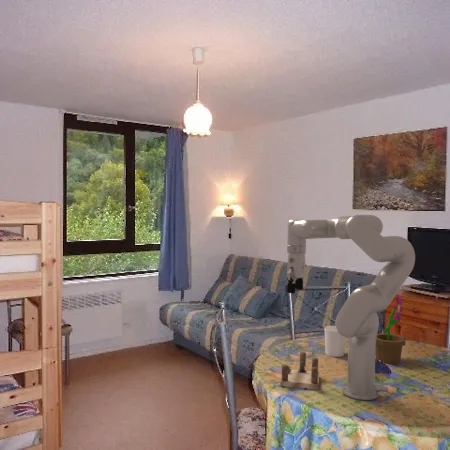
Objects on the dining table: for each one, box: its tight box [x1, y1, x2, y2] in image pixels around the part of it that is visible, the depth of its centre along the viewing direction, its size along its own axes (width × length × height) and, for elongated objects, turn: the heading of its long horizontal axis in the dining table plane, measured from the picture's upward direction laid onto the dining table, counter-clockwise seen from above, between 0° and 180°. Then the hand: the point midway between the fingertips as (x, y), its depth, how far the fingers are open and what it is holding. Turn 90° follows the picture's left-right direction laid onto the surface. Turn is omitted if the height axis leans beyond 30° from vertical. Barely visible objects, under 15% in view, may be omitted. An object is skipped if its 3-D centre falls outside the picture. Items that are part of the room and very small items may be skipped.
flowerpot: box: [375, 294, 406, 365], centre depth 209 cm, size 14×14×30 cm
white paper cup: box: [324, 325, 347, 358], centre depth 217 cm, size 10×10×12 cm
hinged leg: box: [299, 351, 307, 372], centre depth 191 cm, size 8×2×6 cm, turn 168°
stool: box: [279, 357, 320, 391], centre depth 183 cm, size 14×14×8 cm
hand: (295, 291), depth 194 cm, fingers open, 9 cm apart
